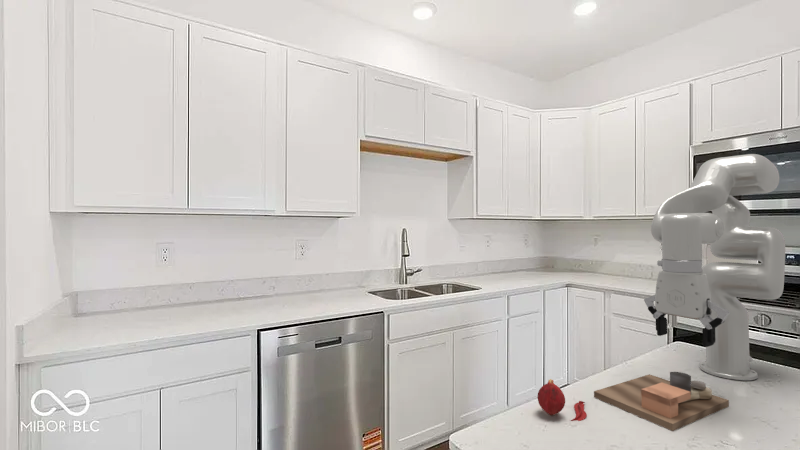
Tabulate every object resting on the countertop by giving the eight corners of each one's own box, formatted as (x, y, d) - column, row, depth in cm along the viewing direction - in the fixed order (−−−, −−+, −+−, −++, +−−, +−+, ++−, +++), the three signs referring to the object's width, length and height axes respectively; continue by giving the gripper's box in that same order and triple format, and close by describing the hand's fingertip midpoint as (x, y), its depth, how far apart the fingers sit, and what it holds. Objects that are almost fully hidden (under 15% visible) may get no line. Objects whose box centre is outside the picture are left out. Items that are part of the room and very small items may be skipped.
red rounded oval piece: (568, 422, 83) (567, 385, 83) (540, 420, 84) (539, 384, 84) (562, 410, 88) (561, 375, 88) (536, 408, 90) (535, 374, 90)
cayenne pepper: (578, 426, 82) (578, 417, 82) (557, 418, 85) (557, 410, 85) (600, 408, 90) (600, 400, 90) (580, 402, 93) (580, 394, 93)
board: (649, 379, 105) (649, 363, 105) (729, 406, 89) (728, 386, 89) (594, 397, 95) (593, 378, 95) (672, 431, 79) (672, 408, 79)
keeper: (662, 399, 90) (661, 382, 90) (691, 409, 85) (690, 391, 85) (641, 406, 86) (641, 389, 86) (670, 418, 81) (669, 399, 81)
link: (695, 388, 95) (694, 366, 95) (717, 397, 90) (716, 373, 90) (651, 397, 90) (651, 374, 90) (672, 407, 85) (672, 382, 86)
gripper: (635, 265, 95) (637, 333, 95) (717, 272, 80) (720, 353, 80) (653, 262, 99) (655, 328, 99) (735, 269, 83) (737, 347, 83)
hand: (684, 339), depth 89 cm, fingers open, 9 cm apart
